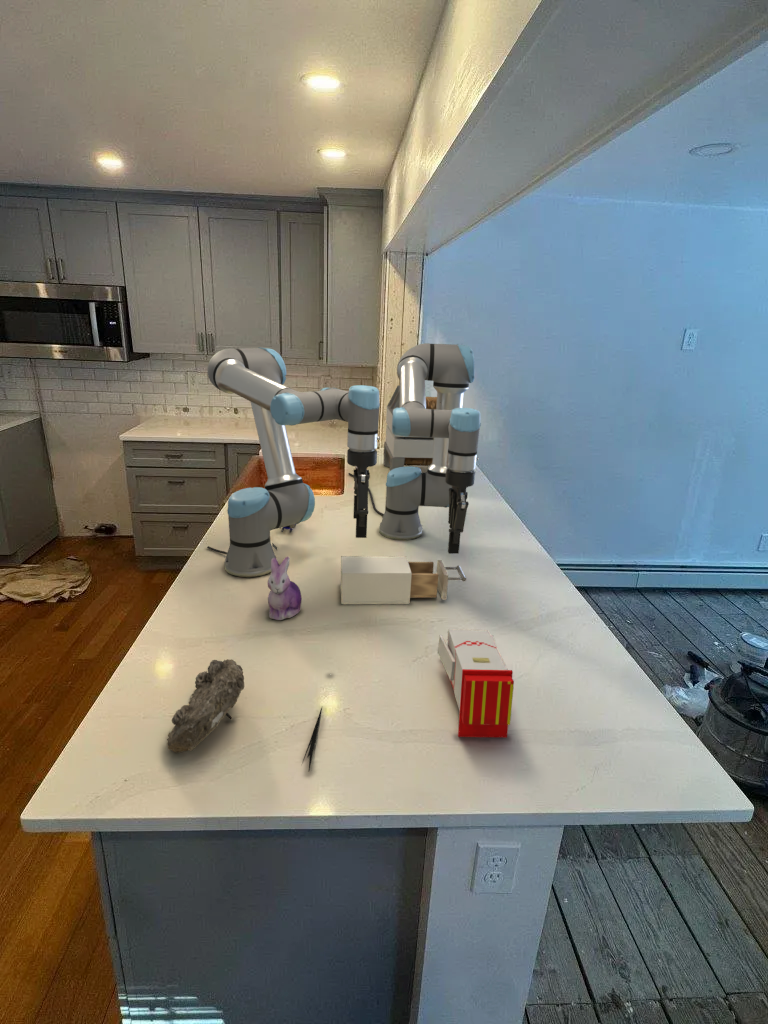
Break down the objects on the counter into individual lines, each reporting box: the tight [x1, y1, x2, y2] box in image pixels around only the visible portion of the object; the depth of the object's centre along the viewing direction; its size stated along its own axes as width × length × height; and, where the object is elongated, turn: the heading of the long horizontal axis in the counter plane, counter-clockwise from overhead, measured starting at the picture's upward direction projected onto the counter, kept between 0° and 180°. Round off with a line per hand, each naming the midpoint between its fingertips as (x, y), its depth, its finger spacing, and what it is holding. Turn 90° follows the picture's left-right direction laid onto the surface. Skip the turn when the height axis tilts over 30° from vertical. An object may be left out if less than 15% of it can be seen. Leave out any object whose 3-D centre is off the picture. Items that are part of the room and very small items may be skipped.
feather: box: [301, 673, 332, 771], centre depth 108 cm, size 2×28×2 cm
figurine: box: [267, 556, 302, 621], centre depth 143 cm, size 9×10×15 cm
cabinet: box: [340, 555, 412, 605], centre depth 155 cm, size 18×11×9 cm, turn 95°
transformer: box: [383, 384, 437, 472], centre depth 268 cm, size 34×33×41 cm
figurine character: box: [280, 524, 297, 533], centre depth 200 cm, size 7×8×15 cm
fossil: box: [166, 658, 245, 754], centre depth 106 cm, size 22×10×15 cm
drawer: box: [408, 559, 467, 601], centre depth 157 cm, size 23×10×7 cm, turn 95°
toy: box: [437, 628, 515, 738], centre depth 117 cm, size 12×13×30 cm
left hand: (359, 527), depth 150 cm, fingers open, 13 cm apart
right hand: (453, 552), depth 155 cm, fingers closed
